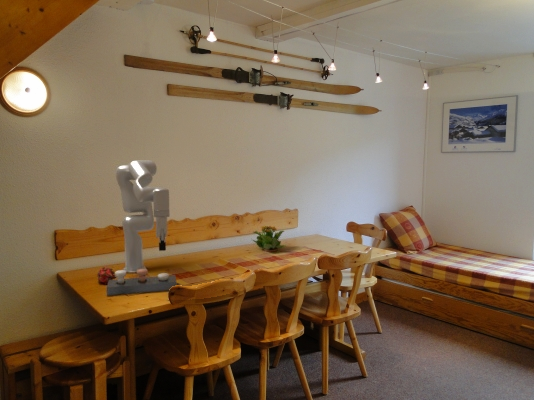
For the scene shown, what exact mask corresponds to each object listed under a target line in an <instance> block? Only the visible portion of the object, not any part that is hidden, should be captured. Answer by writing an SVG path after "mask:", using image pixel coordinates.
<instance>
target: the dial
mask: <svg viewBox="0 0 534 400" xmlns="http://www.w3.org/2000/svg"><path fill="white" fill-rule="evenodd" d="M148 273H149V272H148V269H147V268H146V269H138V270H137V272H136V276H138V278H139V282H146V277H147V276H146V275H148Z"/></svg>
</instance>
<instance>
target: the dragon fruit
mask: <svg viewBox="0 0 534 400" xmlns="http://www.w3.org/2000/svg"><path fill="white" fill-rule="evenodd" d="M96 275H97V276H96V277H97V280H98V282H99V283H102V284H105V285H106V284H107V285H108V281H109V280H116V279H117V277H115V271H114V270H113V268H111V267H108V266H104V267H101V268H100V269H99V271H98V272H97V274H96Z"/></svg>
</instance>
